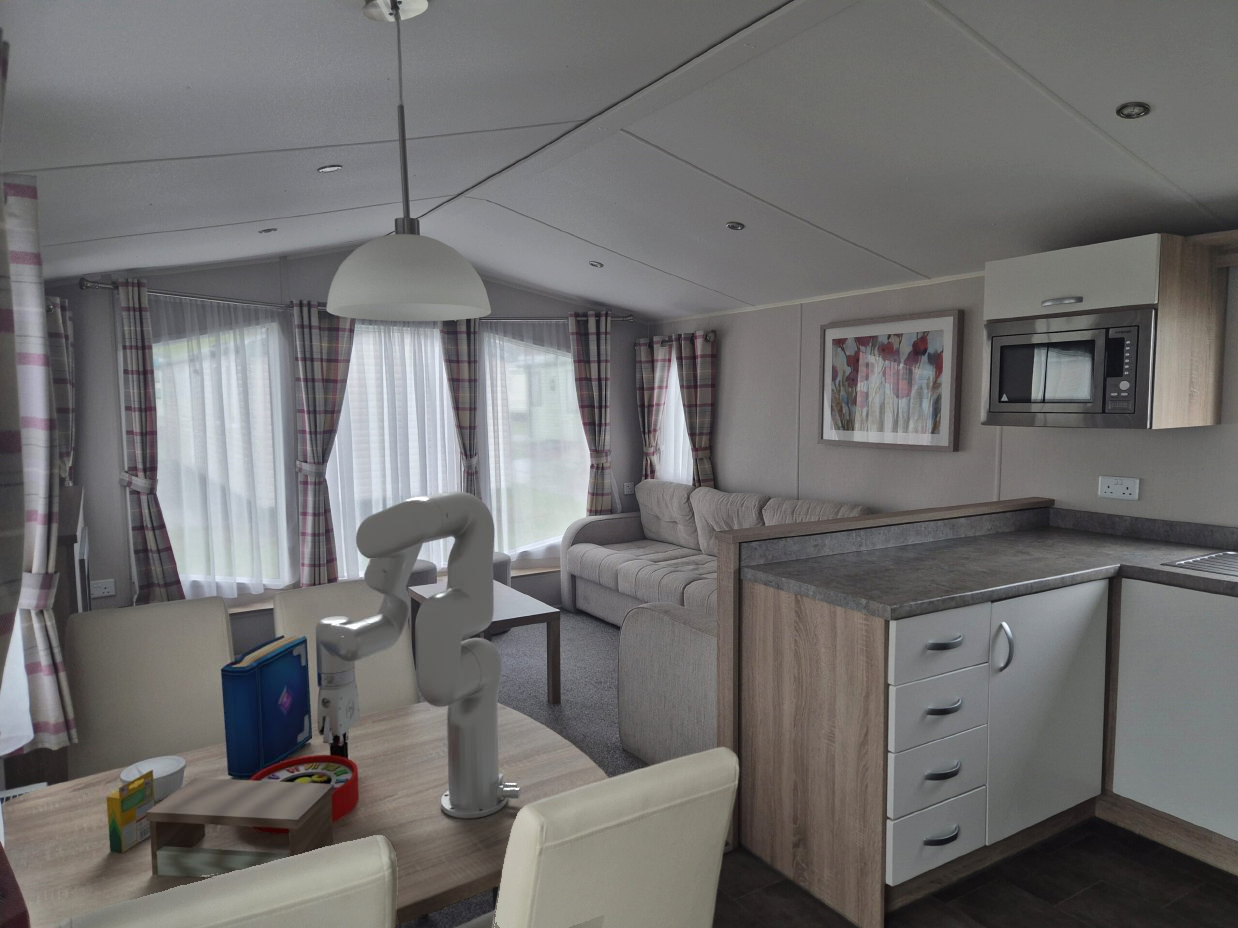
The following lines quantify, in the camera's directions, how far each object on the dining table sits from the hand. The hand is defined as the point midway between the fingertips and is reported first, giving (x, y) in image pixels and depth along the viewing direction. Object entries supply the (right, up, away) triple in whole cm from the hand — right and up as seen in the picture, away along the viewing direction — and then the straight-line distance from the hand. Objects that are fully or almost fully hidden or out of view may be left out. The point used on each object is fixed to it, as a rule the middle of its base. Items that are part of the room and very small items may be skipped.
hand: (339, 760), depth 165 cm
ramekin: (-33, -3, -10) cm, 35 cm away
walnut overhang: (-4, -4, -33) cm, 34 cm away
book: (-17, -2, +4) cm, 17 cm away
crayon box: (-26, -4, -28) cm, 38 cm away
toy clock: (-1, -3, -16) cm, 16 cm away
